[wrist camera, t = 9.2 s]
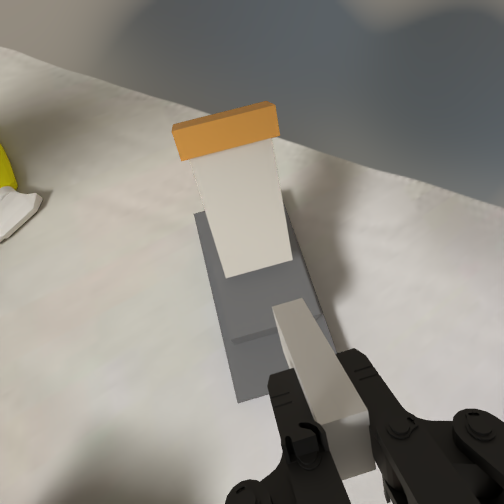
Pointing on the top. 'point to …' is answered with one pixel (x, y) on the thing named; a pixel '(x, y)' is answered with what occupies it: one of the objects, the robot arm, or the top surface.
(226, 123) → the lever
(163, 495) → the top surface
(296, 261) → the block
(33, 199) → the spray bottle
